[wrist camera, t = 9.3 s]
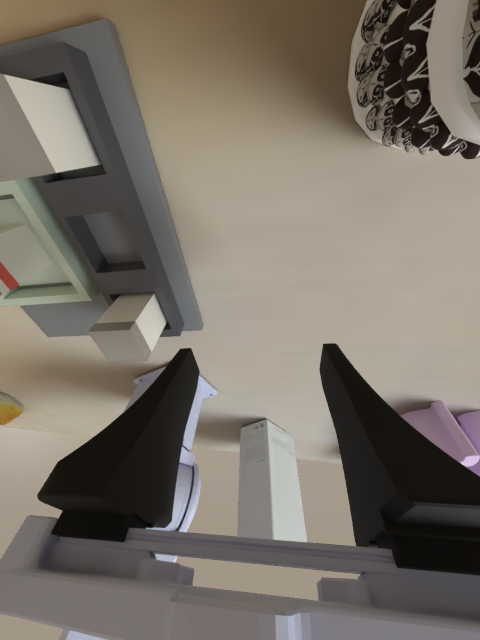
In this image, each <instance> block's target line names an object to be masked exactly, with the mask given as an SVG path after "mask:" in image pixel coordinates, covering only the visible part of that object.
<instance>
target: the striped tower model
mask: <svg viewBox="0 0 480 640" xmlns="http://www.w3.org/2000/svg"><path fill="white" fill-rule="evenodd" d="M347 88H348V92H349V96H350V101H351V105H352V110H353V114H354V118H355V121H356V122H357V123H358V124H359V126H360V127H361V128H362V129H363V130H364V132H365V133H366V134H367V135H368V137H369V138H370V139H371V140H372V141H375V142H378V143H381V144H384V145H385V146H390V147H393V148H397V149H399V148H405V150H406V152H413V151H415V150H416V149H417V148H419V152H420V153H421V154H428V153H430V152H432V151H433V150H434V149H436V150H438V151H439V153H440V154H441V155H443V156H449V155H453V154H455V153H457V152H459V151H460V153H461V155H462V156H463V157H464V158H465V159H474V158H478V157H480V0H367V1H366V4H365V7H364V10H363V12H362V15H361V18H360V21H359V23H358V26H357V29H356V32H355V35H354V37H353V40H352V44H351V54H350V64H349V75H348V85H347Z"/></svg>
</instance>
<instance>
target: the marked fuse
mask: <svg viewBox="0 0 480 640" xmlns="http://www.w3.org/2000/svg"><path fill="white" fill-rule="evenodd" d="M51 264H53V261H52V260H51V258H50V257H49V255H48V254H47V252H46V251H45V249H44V248H43V247H42V245H41V244H40V242H39V241H38V239H37V238H36V236H35V235H34V233H33V232H32V230H31V229H30V228H29V226H28V225H27V224H21V225H13V226H5V227H0V296H1V295H2V294H4V293H6V292H7V291H10V290H12V289H14V288H16V287H17V286H19V284H20V283H22V282H23V281H25V280H27V279H28V278H30V277H32V276H33V275H35V274H36V273H38V272H40V271H41V270H43V269H45V268H46V267H48V266H49V265H51Z"/></svg>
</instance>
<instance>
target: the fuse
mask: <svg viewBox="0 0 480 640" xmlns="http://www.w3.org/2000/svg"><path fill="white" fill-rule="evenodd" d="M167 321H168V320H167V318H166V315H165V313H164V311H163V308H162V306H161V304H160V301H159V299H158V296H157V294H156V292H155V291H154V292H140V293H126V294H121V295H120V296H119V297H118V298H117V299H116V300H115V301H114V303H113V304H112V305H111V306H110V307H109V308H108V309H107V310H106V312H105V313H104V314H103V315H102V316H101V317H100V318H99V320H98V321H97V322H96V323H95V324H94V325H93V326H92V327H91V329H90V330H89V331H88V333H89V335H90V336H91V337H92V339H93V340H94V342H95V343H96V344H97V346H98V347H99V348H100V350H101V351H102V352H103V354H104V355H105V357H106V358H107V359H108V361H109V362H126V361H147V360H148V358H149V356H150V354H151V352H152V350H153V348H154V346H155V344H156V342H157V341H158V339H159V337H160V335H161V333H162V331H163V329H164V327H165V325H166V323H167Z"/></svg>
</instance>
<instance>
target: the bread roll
mask: <svg viewBox="0 0 480 640" xmlns="http://www.w3.org/2000/svg"><path fill="white" fill-rule="evenodd" d="M22 411H23V406H22V405H21V404H20V403H19V402H18V401H16V400H15V399H14V398H12V397H11V396H9V395H7V394H4V393H2V392H0V425H4V424H7V423H9V422H10V421H12V420H13V419H14V418H16V417H18V416H19V415H20V414H21V413H22Z"/></svg>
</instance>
